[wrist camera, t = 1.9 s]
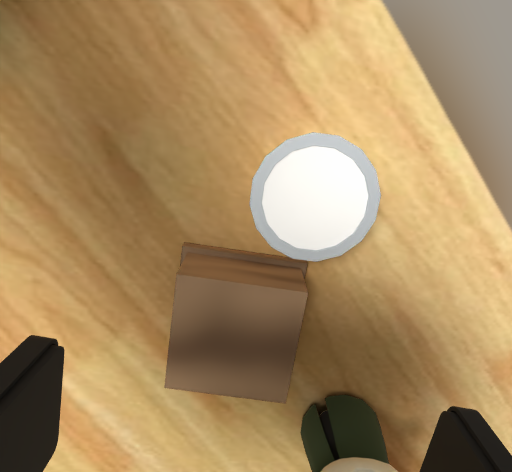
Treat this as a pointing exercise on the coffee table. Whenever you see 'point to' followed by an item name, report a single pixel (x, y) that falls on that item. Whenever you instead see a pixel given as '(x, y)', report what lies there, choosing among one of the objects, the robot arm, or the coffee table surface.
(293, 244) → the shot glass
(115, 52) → the coffee table surface
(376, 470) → the character mug
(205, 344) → the pedestal
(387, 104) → the coffee table surface
